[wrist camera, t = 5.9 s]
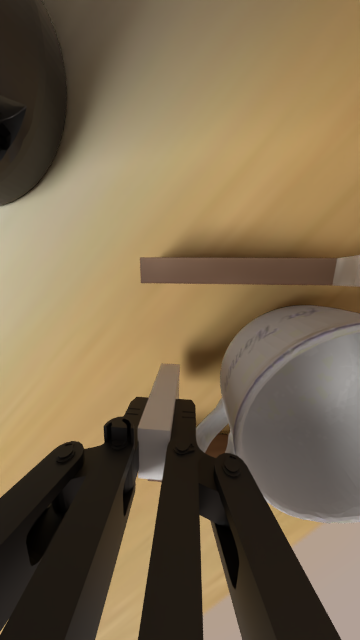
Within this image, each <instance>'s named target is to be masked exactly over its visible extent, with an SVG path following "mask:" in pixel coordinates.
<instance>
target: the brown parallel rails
mask: <svg viewBox="0 0 360 640" xmlns="http://www.w3.org/2000/svg"><path fill="white" fill-rule="evenodd" d="M140 270H141V283H184V284H267V285H336V286H357V287H360V255H357V256H349V257H342V258H144V257H140ZM227 445H228V435H225V434H217V435H216V436H215V438H214V439H213V440H212V441H211V443H210V444H209V446H208V448H207V450H206V452H205V453H206V454H207V455H209V456H212V457H214V458H217V457H218V456H219V455H220V454H223V453H225V451H226V448H227ZM148 481H158V482H162V480H154V479H148Z"/></svg>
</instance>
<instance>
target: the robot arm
mask: <svg viewBox="0 0 360 640" xmlns="http://www.w3.org/2000/svg"><path fill="white" fill-rule="evenodd" d="M65 113H66V79H65V71H64V64H63V59H62V54H61V50H60V46H59V42H58V39H57V36H56V33H55V30H54V27H53V25H52V22H51V20H50V17H49V15H48V13H47V11H46V9H45V7H44V5H43V3H42V1H41V0H0V205H4V204H6V203H9V202H12V201H14V200H16V199H18V198H19V197H21V196H23V195H24V194H25V193H27V192H28V191H29V190H30V189H32V188H33V187H34V186H35V185H36V184H37V183H38V182H39V180H40V179H41V178H42V177H43V175H44V174H45V172H46V171H47V170H48V168H49V166H50V164H51V163H52V161H53V158H54V156H55V154H56V152H57V149H58V146H59V143H60V140H61V136H62V132H63V127H64V122H65ZM179 372H180V365H179V364H162V363H161V366H160V369H159V371H158V374H157V377H156V380H155V382H154V385H153V388H152V390H151V393H150V396H149V398H146V397H136V398H135V399H134V400H133V401H131V403H130V405H129V407H128V409H127V411H126V413H125V415H124V417H116V418H113V419H111V420H110V421H108V422H107V423H106V424H105V425H104V440H105V442H104V444H103V445H100V446H97V447H93V448H88V449H84V448H83V445H82V444H81V443H80V442H76V441H71V442H66V443H64V444H62V445H60V446H58V447H57V448H56V449H54V450H53V451H52V452H51V453H50V454H49V455H47V456H46V457H45V458H44V459H43V460H42V461H41V462H40V463H39V464H37V465H36V466H35V467H34V468H33V469H32V470H31V471H30V472H29V473H27V474H26V475H25V476H24V477H23V478H22V479H21V480H20V481H19V482H17V483H16V484H15V485H14V486H13V487H12V488H11V489H10V490H9V491H8V492H6V493H5V494H4V495H3V496H2V497H1V498H0V631H1V630H2V628H3V627H4V625H5V624H6V622H7V621H8V622H7V624H6V625H5V627H4V629H3V631H2V633H1V635H0V640H95V638H96V634H97V630H98V626H99V623H100V619H101V615H102V612H103V608H104V604H105V601H106V597H107V593H108V590H109V586H110V582H111V578H112V575H113V571H114V567H115V564H116V560H117V556H118V553H119V549H120V545H121V542H122V538H123V534H124V530H125V527H126V523H127V519H128V516H129V512H130V508H131V505H132V501H133V497H134V494H135V486H136V484H135V480H136V477H137V473H138V478H143V479H154V480H162V484H161V491H160V497H159V504H158V511H157V517H156V524H155V530H154V537H153V544H152V550H151V557H150V564H149V570H148V577H147V584H146V590H145V597H144V603H143V610H142V617H141V623H140V630H139V637H138V640H203V615H202V583H201V550H200V518H199V515H201V516H203V517H205V518H207V519H209V520H210V521H211V525H212V528H213V532H214V536H215V539H216V543H217V547H218V551H219V554H220V558H221V562H222V566H223V569H224V573H225V577H226V581H227V584H228V588H229V592H230V595H231V599H232V603H233V607H234V610H235V614H236V618H237V622H238V625H239V629H240V633H241V636H242V640H341V639H340V636H339V635H338V633H337V631H336V629H335V627H334V625H333V623H332V622H331V620H330V618H329V616H328V614H327V613H326V611H325V609H324V607H323V605H322V603H321V601H320V600H319V598H318V596H317V594H316V593H315V590H314V589H313V587H312V585H311V583H310V581H309V579H308V577H307V576H306V574H305V572H304V570H303V568H302V566H301V565H300V563H299V561H298V559H297V557H296V555H295V553H294V552H293V550H292V548H291V546H290V544H289V542H288V540H287V539H286V537H285V535H284V533H283V531H282V529H281V528H280V526H279V524H278V522H277V520H276V518H275V516H274V515H273V513H272V511H271V509H270V507H269V505H268V504H267V502H266V500H265V498H264V496H263V494H262V492H261V491H260V489H259V487H258V485H257V483H256V481H255V480H254V478H253V476H252V474H251V472H250V470H249V469H248V467H247V465H246V464H245V462H244V461H243V460H242V459H241V458H239V457H238V456H237V455H234V454H231V453H223V454H220V455H219V456H218V457H217V458H214V457H212V456H209V455H207V454H206V453H204V452H203V451H202V450H201V449H200V448H199V447H198V445H197V441H196V414H195V404H194V403H193V401H192V400H184V399H178V398H179ZM8 619H9V620H8Z"/></svg>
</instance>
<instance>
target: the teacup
mask: <svg viewBox="0 0 360 640" xmlns="http://www.w3.org/2000/svg"><path fill="white" fill-rule="evenodd" d="M220 387H221V394H222V399H221V400H220V401H219V403H218V405H217V407H216V408H215V409H214V410H213V411H212V412H211V413H210V414H209V415H208V416H207V417H206V418H205V419H204V420H203V421H202V422H201V423H200V424H199V425H198V426H197V427H196V441H197V445H198V447H199V448H200V449H201V450H202V451H203V452H204V453H205V452H206V450H207V448H208V446H209V444H210V443H211V441H212V440H213V439H214V438H215V436H216V435H217V434H218V433H219V432H220V431H221V430H222V429H223V428H224V427H225V426H226V425H227V424H228V423H229V426H230V433H229V435H228V445H227V448H226V451H225V453H231V454H234V455H237V456H238V457H239V458H241V459H242V460H243V461H244V462H245V464H246V465H247V467H248V469H249V470H250V472H251V474H252V476H253V478H254V480H255V481H256V483H257V485H258V487H259V489H260V491H261V492H262V494H263V496H264V498H265V500H266V502H268V503H270V504H271V505H272V506H273V507H275V508H276V509H278V510H280V511H282V512H284V513H285V514H288V515H291V516H293V517H297V518H300V519H304V520H311V521H316V522H323V523H353V522H360V313H355V312H351V311H346V310H341V309H336V308H330V307H323V306H314V305H296V306H289V307H283V308H279V309H276V310H272V311H270V312H267V313H265V314H263V315H261V316H259V317H257V318H256V319H254V320H252V321H251V322H250V323H248V324H247V325H246V326H245V327H244V328H242V329H241V330H240V331H239V332H238V333H237V335H236V336H235V337H234V339H233V340H232V341H231V343H230V345H229V346H228V348H227V350H226V352H225V355H224V358H223V361H222V365H221V371H220Z"/></svg>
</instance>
